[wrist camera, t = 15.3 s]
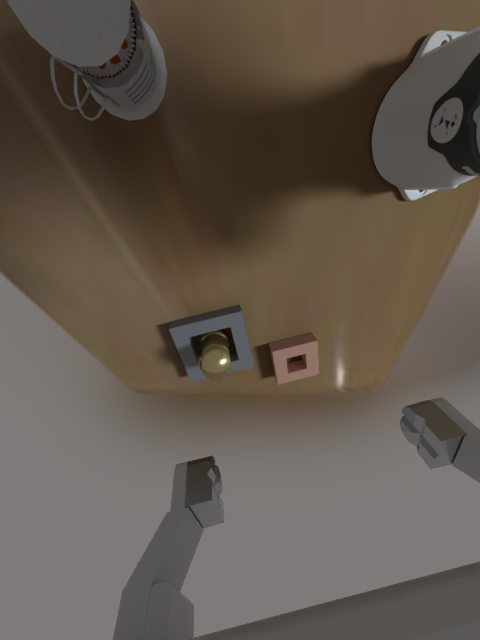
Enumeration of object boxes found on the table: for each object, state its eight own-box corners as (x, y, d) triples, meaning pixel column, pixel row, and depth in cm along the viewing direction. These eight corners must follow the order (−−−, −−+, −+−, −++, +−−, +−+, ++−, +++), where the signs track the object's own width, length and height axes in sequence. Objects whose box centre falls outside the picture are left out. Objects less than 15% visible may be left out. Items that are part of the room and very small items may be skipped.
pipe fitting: (225, 325, 47) (229, 350, 40) (232, 349, 50) (237, 376, 43) (195, 333, 47) (194, 359, 40) (204, 356, 50) (204, 384, 43)
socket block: (239, 304, 45) (241, 311, 43) (252, 358, 52) (254, 366, 49) (170, 321, 45) (168, 329, 43) (191, 374, 51) (191, 382, 49)
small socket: (311, 332, 50) (317, 340, 48) (313, 365, 55) (319, 374, 52) (268, 343, 50) (272, 351, 48) (274, 375, 55) (278, 384, 52)
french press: (180, 45, 28) (106, -412, 6) (147, 153, 32) (37, 98, 11) (86, -26, 25) (-716, -1460, 3) (63, 105, 29) (-333, -112, 8)
